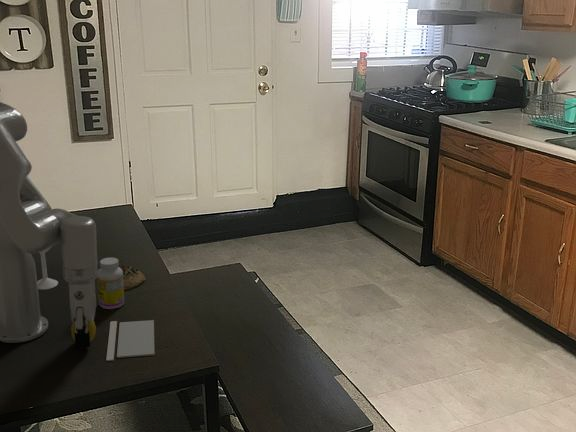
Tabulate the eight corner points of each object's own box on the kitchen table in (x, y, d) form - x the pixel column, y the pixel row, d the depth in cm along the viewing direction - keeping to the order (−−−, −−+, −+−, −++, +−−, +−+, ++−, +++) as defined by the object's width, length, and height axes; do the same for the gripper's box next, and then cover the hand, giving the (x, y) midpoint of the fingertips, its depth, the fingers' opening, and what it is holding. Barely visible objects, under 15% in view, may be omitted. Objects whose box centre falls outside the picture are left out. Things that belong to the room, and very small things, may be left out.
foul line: (106, 361, 142) (106, 360, 142) (110, 322, 159) (110, 321, 159) (113, 360, 142) (113, 359, 142) (117, 322, 159) (117, 321, 159)
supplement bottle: (98, 300, 170) (95, 257, 165) (122, 297, 172) (120, 254, 168) (100, 311, 164) (97, 267, 160) (125, 308, 166) (123, 264, 162)
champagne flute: (63, 283, 179) (56, 204, 171) (43, 291, 173) (34, 210, 165) (48, 277, 182) (40, 199, 174) (28, 285, 177) (19, 205, 169)
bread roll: (110, 273, 186) (111, 258, 185) (147, 278, 188) (149, 263, 186) (102, 291, 176) (103, 275, 174) (141, 296, 177) (143, 280, 176)
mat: (116, 357, 144) (116, 356, 143) (119, 323, 158) (119, 322, 158) (154, 355, 145) (154, 353, 145) (153, 321, 160) (153, 320, 160)
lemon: (89, 352, 145) (87, 322, 142) (67, 348, 146) (65, 318, 143) (100, 340, 150) (99, 311, 147) (79, 336, 151) (77, 307, 148)
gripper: (94, 286, 134) (98, 358, 140) (100, 254, 150) (102, 320, 156) (58, 288, 132) (62, 360, 139) (67, 255, 148) (71, 322, 154)
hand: (84, 338), depth 147 cm, fingers closed on lemon, 5 cm apart
